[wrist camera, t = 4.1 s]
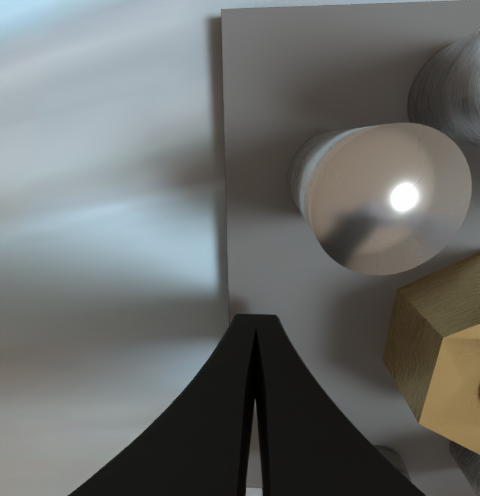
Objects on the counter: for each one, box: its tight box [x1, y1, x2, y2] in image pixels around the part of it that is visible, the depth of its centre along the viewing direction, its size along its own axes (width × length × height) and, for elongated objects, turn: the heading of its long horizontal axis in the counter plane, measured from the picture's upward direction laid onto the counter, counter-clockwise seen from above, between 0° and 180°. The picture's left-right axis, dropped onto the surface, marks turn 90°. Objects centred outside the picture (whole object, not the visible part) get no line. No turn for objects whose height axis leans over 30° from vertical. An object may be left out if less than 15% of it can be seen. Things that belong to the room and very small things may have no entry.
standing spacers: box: [287, 30, 480, 496], centre depth 8 cm, size 9×16×4 cm, turn 1°
